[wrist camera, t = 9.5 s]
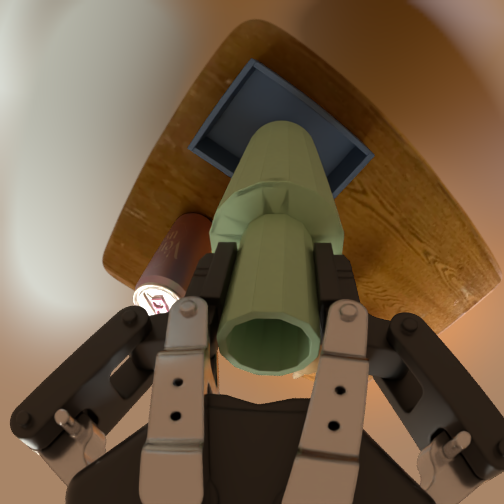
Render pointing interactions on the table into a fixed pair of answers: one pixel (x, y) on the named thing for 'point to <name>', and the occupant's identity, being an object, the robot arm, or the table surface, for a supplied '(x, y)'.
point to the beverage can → (173, 264)
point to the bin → (269, 110)
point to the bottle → (275, 251)
